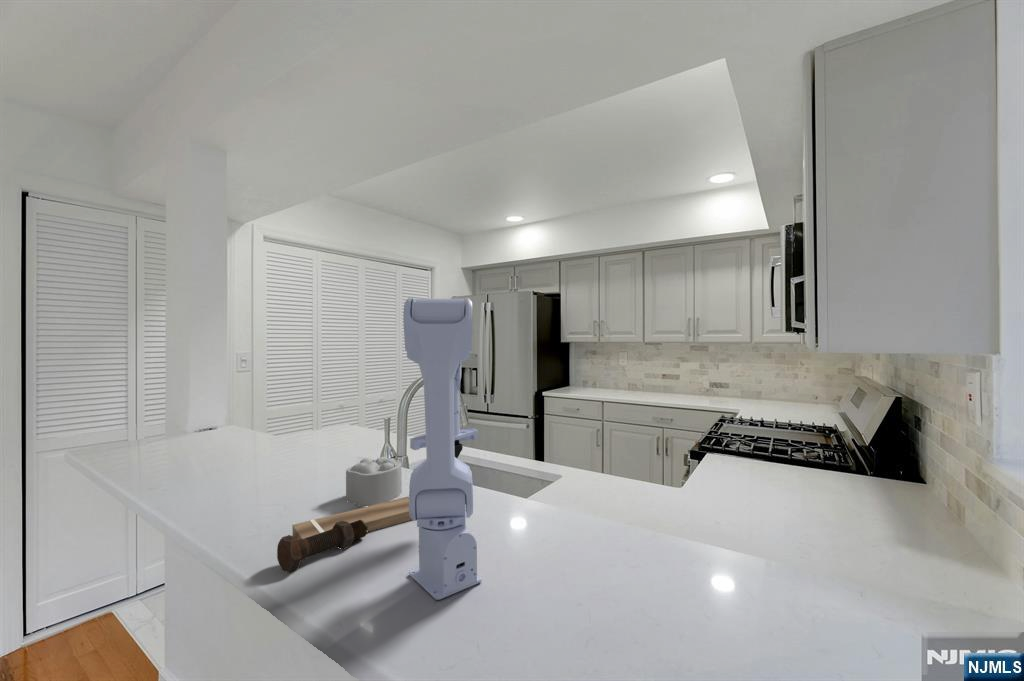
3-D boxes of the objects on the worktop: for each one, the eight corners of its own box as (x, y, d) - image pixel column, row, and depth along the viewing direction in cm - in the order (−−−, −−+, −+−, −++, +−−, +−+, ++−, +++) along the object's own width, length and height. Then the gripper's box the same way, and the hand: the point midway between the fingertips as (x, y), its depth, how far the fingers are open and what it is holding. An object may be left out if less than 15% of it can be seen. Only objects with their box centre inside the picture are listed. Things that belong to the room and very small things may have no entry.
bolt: (365, 548, 83) (285, 580, 71) (352, 529, 86) (273, 557, 74) (375, 525, 82) (295, 554, 70) (362, 506, 84) (282, 531, 72)
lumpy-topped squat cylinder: (340, 500, 103) (340, 463, 103) (383, 484, 114) (383, 451, 114) (369, 509, 98) (368, 470, 98) (412, 492, 109) (412, 457, 109)
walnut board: (424, 516, 93) (424, 506, 93) (303, 550, 78) (302, 538, 78) (408, 505, 100) (407, 496, 100) (292, 535, 85) (292, 524, 85)
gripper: (465, 406, 96) (465, 468, 96) (403, 413, 87) (403, 482, 87) (483, 410, 90) (484, 476, 90) (419, 418, 81) (420, 491, 81)
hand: (445, 479), depth 88 cm, fingers closed
